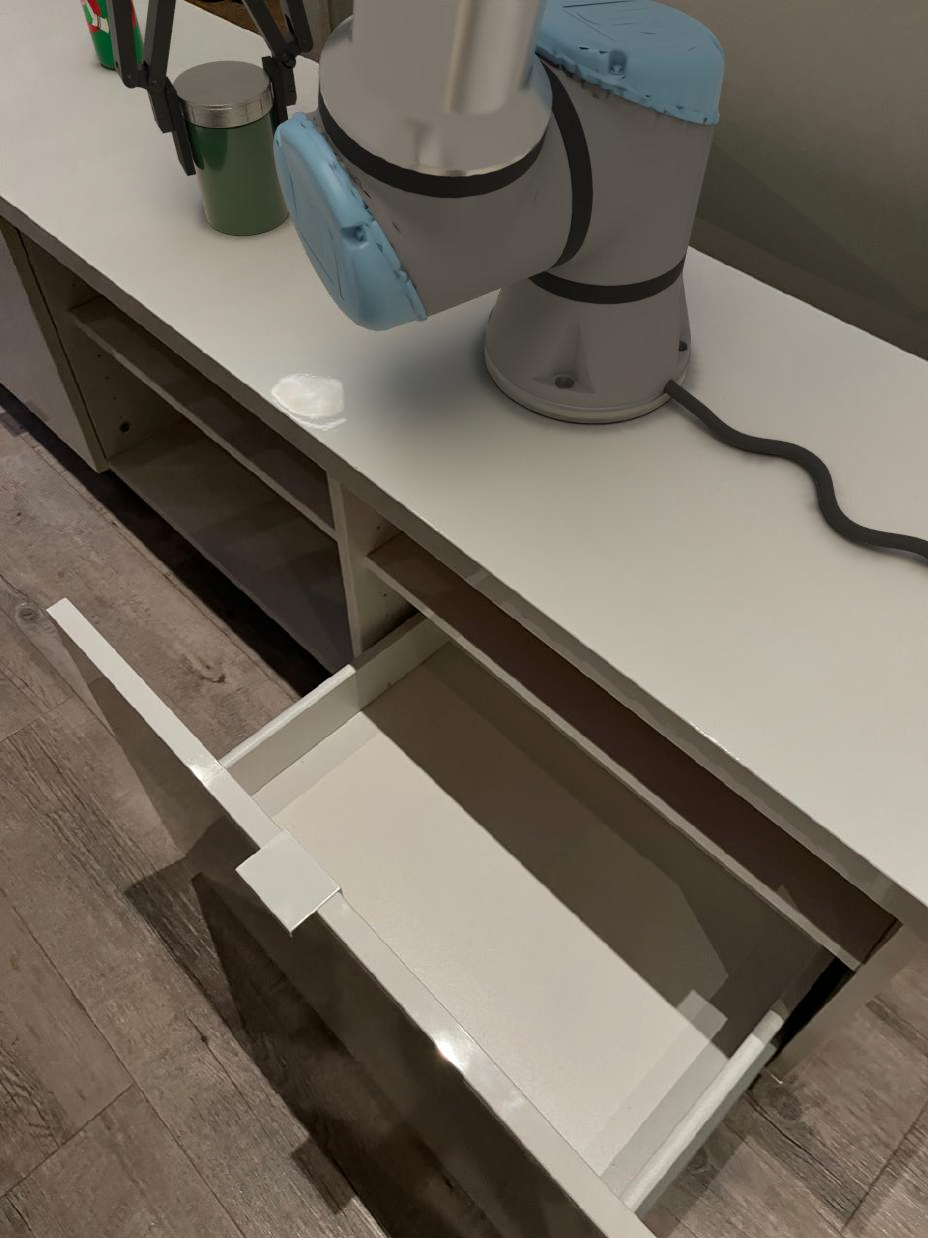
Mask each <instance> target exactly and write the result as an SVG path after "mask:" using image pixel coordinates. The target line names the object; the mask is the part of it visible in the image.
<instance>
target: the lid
mask: <svg viewBox="0 0 928 1238" xmlns="http://www.w3.org/2000/svg"><path fill="white" fill-rule="evenodd" d="M172 85H173V86H174V88H175V89H176V91H177V95H178V99H179V103H180V107H181V112H182V116H183V118H184V119H185V120H187V121H188V122H190V123H193V124H196V125H199V126H204V127H212V128H226V127H235V126H240V125H244V124H248V123H251V122H253V121H256V120H258V119H260V118H261V117H263V116H264V115H266V114H267V113H268V112H269V111H270V110H271V108H272V107H273V98H274V95H273V88H272V82H270V77H269V75H268V73H267V72H266V71H265V70H264V69H263V67H261V66H259V65H257V64H254V63H252V62H251V63H250V62H246V61H240V60H217V61H216V60H215V61H210V62H209V61H208V62H204V63H201V64H198V65H195V66H193V67H190V68H188V69H185V70H184V71H183V72H181V73H179V74H178V76H177V77H175V79H174V80H173V83H172Z"/></svg>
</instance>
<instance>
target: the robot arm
mask: <svg viewBox="0 0 928 1238" xmlns="http://www.w3.org/2000/svg"><path fill="white" fill-rule="evenodd" d="M241 3H243V5H244V7H245V9H246V11H247V12H248V14H249V16H250V18H251V19H252V21H253V23H254V25H255V27H256V28H257V30H258V32H259V34H260V35H261V37H262V39H263V41H264V42H265V44H266V46H267V48H268V50H269V51H270V55H265V56H260V58H261V64H262V69H264V70H265V71H266V72H267V73H268V75H269V77H270V82H272V88H273V95H274V98H273V107H272V109H273V115H274V121H275V127H276V132H275V135H274V144H273V150H274V159H275V165H276V170H277V175H278V179H279V183H280V186H281V190H282V193H283V196H284V199H285V203H286V205H287V208H288V215H289V217H290V219H291V222H292V224H293V227H294V230H295V231H296V234H297V236H298V238H299V241H300V243H301V245H302V247H303V250H304V252H305V254H306V257H307V259H308V260H309V262H310V264H311V266H312V268H313V270H314V271H315V273H316V275H317V276H318V278H319V280H320V282H321V283H322V286H323V287H324V289H325V290H326V292H327V293H328V295H329V296H330V297H331V299H332V300H333V302H334V303H335V305H336V306H337V307H338V308H339V310H340V311H341V312H342V313H343V314H344V315H345V316H346V317H347V318H348V319H349V320H350V321H351V322H353V323H354V324H355V325H357V326H358V327H362V328H364V329H366V330H370V331H374V332H384V331H387V330H391V329H394V328H396V327H399V326H403V325H406V324H409V323H412V322H415V321H416V322H418V323H423V322H425V321H427V320H428V318H430V317H432V316H434V315H438V314H440V313H441V312H445V311H447V310H450V309H452V308H455V307H458V306H460V305H462V304H465V303H467V302H470V301H473V300H475V299H477V298H480V297H483V296H485V295H488V294H490V293H493V292H495V291H498V290H499V293H498V295H497V299H496V301H495V304H494V305H493V307H492V309H491V311H490V313H489V316H488V319H487V323H486V328H485V332H484V333H485V334H484V361H485V365H486V368H487V371H488V373H489V376H490V377H491V379H492V380H493V381H494V383H495V384H496V385H497V386H498V388H499V389H500V390H501V391H502V392H503V393H504V394H505V395H507V396H508V397H509V398H510V399H512V400H513V401H515V402H516V403H517V404H519V405H521V406H522V407H525V408H526V409H528V410H530V411H533V412H535V413H537V414H540V415H543V416H545V417H548V418H551V419H552V418H553V419H557V420H561V421H565V422H572V423H583V424H605V423H607V424H609V423H616V422H621V421H626V420H630V419H633V418H637V417H640V416H643V415H646V414H648V413H650V412H652V411H654V410H656V409H658V408H660V407H661V406H663V405H664V404H665V403H666V402H668V401H669V400H670V399H673V400H674V401H675V402H677V403H678V404H679V405H681V406H682V407H683V408H684V409H686V410H687V411H688V412H689V413H691V414H692V415H693V416H695V417H696V418H697V419H698V420H700V422H702V424H704V425H705V426H706V427H707V428H708V429H709V430H710V431H711V432H712V433H714V434H715V435H716V436H717V437H719V438H720V439H721V440H723V441H724V442H726V443H729V444H731V445H733V446H734V447H737V448H740V449H743V450H746V451H747V450H748V451H750V452H751V451H752V452H755V453H756V452H757V453H762V454H768V455H769V454H770V455H776V456H782V457H785V458H789V459H792V460H795V461H796V462H799V463H800V464H802V465H803V466H804V467H805V468H806V469H808V470H809V472H810V473H811V474H812V476H813V478H814V481H815V483H816V488H817V495H818V499H819V504H820V507H821V511H822V512H823V514H824V516H825V518H826V519H827V521H828V522H829V523H830V525H832V527H834V528H835V530H837V531H838V532H840V533H842V534H843V535H844V536H846V537H849V538H850V539H852V540H854V541H857V542H859V543H862V544H866V545H869V546H874V547H879V548H886V549H892V550H899V551H904V552H909V553H912V554H915V555H918V556H920V557H922V558H924V559H925V560H926V561H928V540H926V539H924V538H921V537H917V536H913V535H908V534H903V533H896V532H890V531H883V530H877V529H874V528H869V527H866V526H864V525H860V524H859V523H856V522H855V521H854V520H852V519H850V518H849V517H848V516H847V515H846V514H845V513H844V512H843V511H842V509H841V507H840V505H839V503H838V500H837V497H836V496H837V495H836V491H835V487H834V481H833V478H832V475H831V472H830V470H829V468H828V467H827V465H826V464H825V462H824V461H823V460H822V459H821V458H820V457H819V456H818V455H816V454H815V453H814V452H812V451H810V450H809V449H808V448H806V447H803V446H801V445H799V444H796V443H794V442H789V441H784V440H780V439H779V440H778V439H771V438H765V437H759V436H754V435H750V434H747V433H744V432H741V431H739V430H737V429H735V428H733V427H731V426H730V425H729V424H727V423H725V421H724V420H722V419H721V418H720V417H719V416H718V415H717V414H716V413H714V412H713V411H712V410H711V409H710V408H709V407H708V406H707V405H706V404H704V403H703V402H702V401H700V400H699V399H698V398H697V397H695V396H694V395H692V394H691V392H689V391H688V390H686V389H685V388H683V387H682V385H683V383H684V380H685V378H686V376H687V375H686V374H687V370H688V367H689V363H690V358H691V352H692V334H691V327H690V319H689V311H688V305H687V298H686V289H685V283H684V275H683V274H684V273H683V272H684V269H685V268H684V267H685V262H686V259H687V258H686V257H687V253H688V249H689V245H690V240H691V236H692V232H693V228H694V224H695V219H696V214H697V210H698V206H699V201H700V197H701V193H702V188H703V183H704V179H705V175H706V170H707V168H708V167H707V166H708V162H709V157H710V153H711V148H712V144H713V140H714V135H715V131H716V126H717V125H718V124H719V121H720V118H721V112H720V109H719V104H720V99H721V93H722V88H723V82H724V74H725V69H726V67H725V66H726V65H725V54H724V49H723V47H722V45H721V42H720V40H719V39H718V38H717V37H716V35H715V34H714V33H713V32H712V30H710V29H709V28H708V27H707V26H706V25H705V24H703V23H702V22H700V21H699V20H697V19H696V18H694V17H692V16H691V15H689V14H687V13H685V12H684V11H681V10H679V9H676V8H674V7H671V6H669V5H666V4H663V3H660V2H657V1H655V0H654V1H653V0H352V14H351V15H350V16H349V17H347V18H345V19H344V20H343V21H341V23H339V24H338V25H337V26H336V27H335V29H334V30H333V31H332V32H331V33H330V35H329V36H328V38H327V39H326V41H325V43H324V44H323V47H322V49H321V52H320V57H319V61H318V71H317V73H318V74H317V75H318V90H317V91H318V92H317V108H316V110H314V111H311V112H307V113H304V112H303V111H302V110H301V111H295V112H294V113H293V115H292V117H290V118H289V114H288V107H290V106H294V105H297V100H298V95H297V87H296V80H295V73H294V69H295V67H296V66H297V57H298V56H300V55H302V53H304V54H308V53H310V52H312V50H313V49H314V39H313V36H312V31H311V28H310V24H309V21H308V16H307V12H306V8H305V5H304V1H303V0H279V4H280V8H281V11H282V16H283V18H284V19H283V20H284V23H285V26H286V28H287V32H286V33H284V34H282V32H281V30H280V29H279V26H278V25H277V23H276V21H275V19H274V17H273V16H272V14H271V12H270V10H269V8H268V6H267V5H266V3H265V1H264V0H241ZM106 4H107V11H108V19H109V26H110V33H111V41H112V48H113V56H114V63H115V68H116V69H115V72H116V73H117V74H118V76H119V78H120V80H121V82H122V84H123V85H124V86H125V87H126V88H128V89H135V88H140V89H143V90H146V93H147V97H148V100H149V101H148V102H149V105H150V109H151V111H152V117H153V119H154V121H155V123H156V125H157V127H158V128H159V130H160V131H161V133H162V134H167V133H171V136H172V140H173V143H174V147H175V153H176V155H177V160H178V162H179V164H180V166H181V168H182V169H183V171H184V173H185V175H186V177H190V176H196V170H195V166H194V162H193V158H192V154H191V149H190V145H189V141H188V137H187V133H186V128H185V124H184V120H183V116H182V112H181V107H180V103H179V99H178V95H177V91H176V89H175V88H174V86H173V83H172V81H171V80H170V78H169V76H167V73H168V65H169V59H170V58H169V57H170V52H171V50H170V49H171V42H172V36H173V35H172V34H173V26H174V20H175V12H176V6H177V5H176V4H177V0H148V4H147V11H146V21H145V30H144V38H143V42H144V46H143V55H142V63H141V64H140V63H137V58H136V50H135V41H134V33H133V24H132V16H131V7H130V0H106Z"/></svg>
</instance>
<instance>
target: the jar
mask: <svg viewBox="0 0 928 1238" xmlns="http://www.w3.org/2000/svg"><path fill="white" fill-rule="evenodd" d="M183 120H184V124H185V128H186V133H187V137H188V141H189V145H190V149H191V154H192V158H193V162H194V166H195V170H196V174H195V176H196V180H197V185H198V189H199V192H200V193H199V194H200V197H201V201H202V205H203V210H204V214H205V218H206V221H207V223H208V225H209V226H210V227H211V228H213V229H214V230H216V231H218V232H219V233H223V234H225V235H231V236H238V237H239V236H240V237H241V236H242V237H243V236H253V235H254V236H255V235H259V234H263V233H266V232H269V231H271V230H273V229H276V228H278V226H280V225H281V224H283V222H284V221H285V220H286V219H287V217H288V216H289V211H288V208H287V205H286V203H285V199H284V196H283V193H282V190H281V186H280V183H279V179H278V175H277V170H276V165H275V159H274V150H273V144H274V135H275V132H276V127H275V121H274V115H273V109H272V108H271V110H270V111H269V112H268V113H267V114H266V115H264V116H263V117H261V118H260V119H258V120H256V121H253V122H251V123H248V124H244V125H240V126H235V127H226V128H212V127H204V126H199V125H196V124H193V123H190V122H188V121H187V120H185V119H184V118H183Z"/></svg>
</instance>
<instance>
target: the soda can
mask: <svg viewBox="0 0 928 1238" xmlns="http://www.w3.org/2000/svg"><path fill="white" fill-rule="evenodd" d="M79 1H80V4H81V8H82V11H83V14H84V19H85V21H86V24H87V27H88V31H89V34H90V37H91V41H92V43H93V47H94V51H95V54H96V58H97V60H98V62H100V64H102V65H103V66H104V67H106V68H108V69H110V70H116V68H115V63H114V56H113V48H112V41H111V33H110V26H109V19H108V11H107V4H106V0H79ZM130 7H131V16H132V24H133V33H134V41H135V50H136V58H137V63H140V64H142V55H143V46H144V38H143V35H142V31H141V27H140V23H139V18H138V15H137V12H136V8H135V4H134V1H133V0H130Z"/></svg>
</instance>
